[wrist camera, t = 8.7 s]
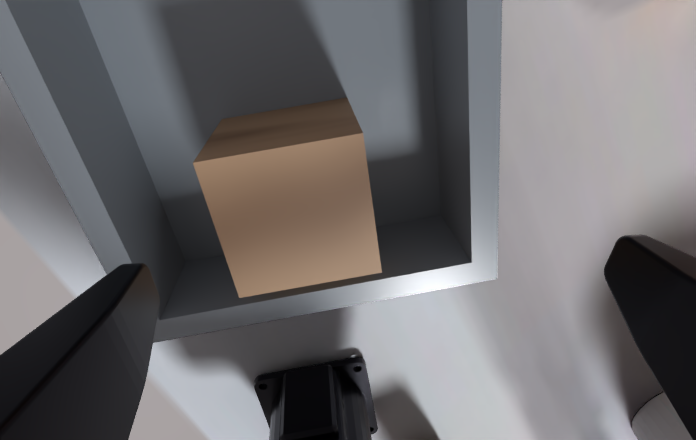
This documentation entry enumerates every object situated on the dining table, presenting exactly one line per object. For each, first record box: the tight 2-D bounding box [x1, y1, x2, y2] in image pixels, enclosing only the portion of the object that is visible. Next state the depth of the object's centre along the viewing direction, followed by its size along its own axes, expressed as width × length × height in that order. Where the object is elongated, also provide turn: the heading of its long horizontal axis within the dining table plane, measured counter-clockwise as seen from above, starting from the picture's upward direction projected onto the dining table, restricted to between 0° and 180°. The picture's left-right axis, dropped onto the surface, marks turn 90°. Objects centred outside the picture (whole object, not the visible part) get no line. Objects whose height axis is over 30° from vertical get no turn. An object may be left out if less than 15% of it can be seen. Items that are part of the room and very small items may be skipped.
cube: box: [193, 97, 382, 298], centre depth 16 cm, size 5×5×5 cm
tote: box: [0, 0, 502, 343], centre depth 14 cm, size 18×14×5 cm
